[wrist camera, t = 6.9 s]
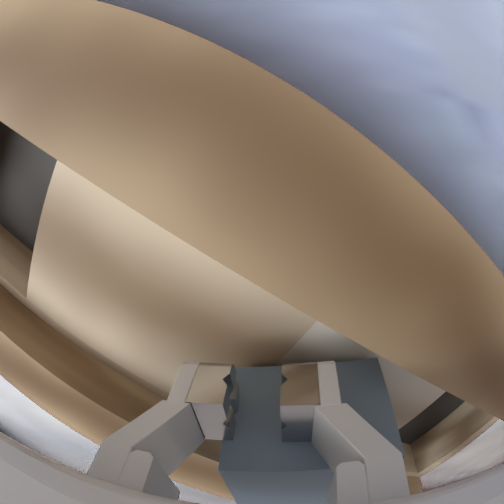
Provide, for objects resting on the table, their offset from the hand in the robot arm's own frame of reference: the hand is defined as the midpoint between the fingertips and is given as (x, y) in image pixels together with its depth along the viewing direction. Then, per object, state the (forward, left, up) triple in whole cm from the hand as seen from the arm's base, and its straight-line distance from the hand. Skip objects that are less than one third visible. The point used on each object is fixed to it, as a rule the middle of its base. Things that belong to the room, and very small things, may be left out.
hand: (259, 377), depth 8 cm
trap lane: (-1, 0, -5) cm, 5 cm away
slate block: (-2, -3, -2) cm, 4 cm away
